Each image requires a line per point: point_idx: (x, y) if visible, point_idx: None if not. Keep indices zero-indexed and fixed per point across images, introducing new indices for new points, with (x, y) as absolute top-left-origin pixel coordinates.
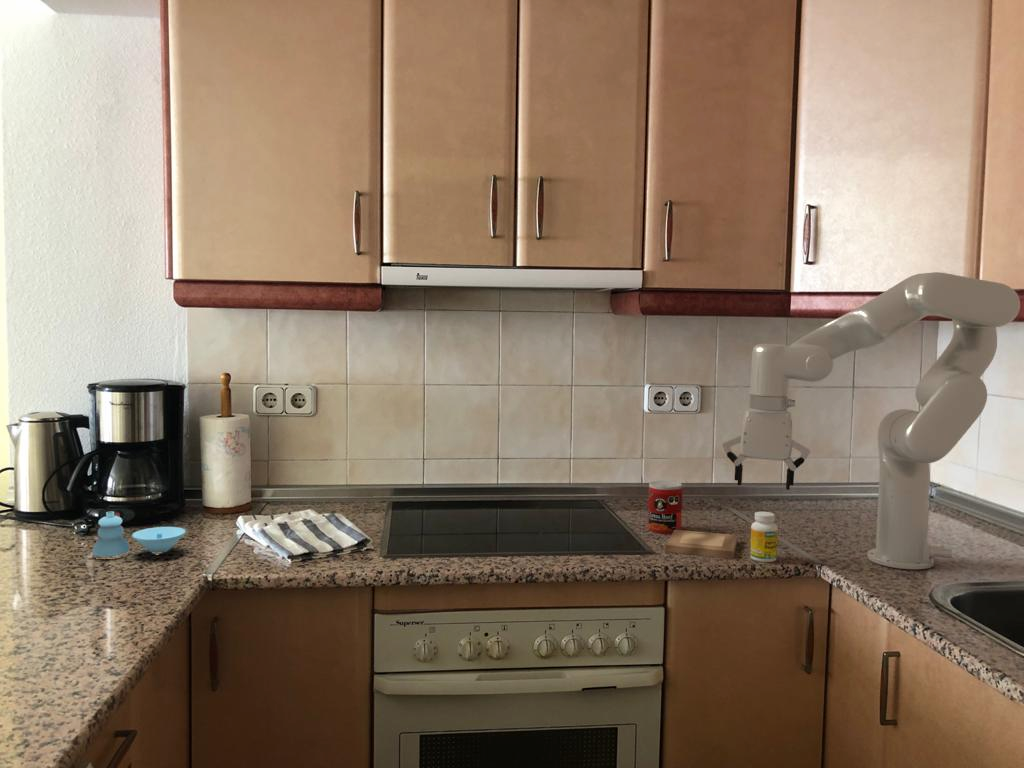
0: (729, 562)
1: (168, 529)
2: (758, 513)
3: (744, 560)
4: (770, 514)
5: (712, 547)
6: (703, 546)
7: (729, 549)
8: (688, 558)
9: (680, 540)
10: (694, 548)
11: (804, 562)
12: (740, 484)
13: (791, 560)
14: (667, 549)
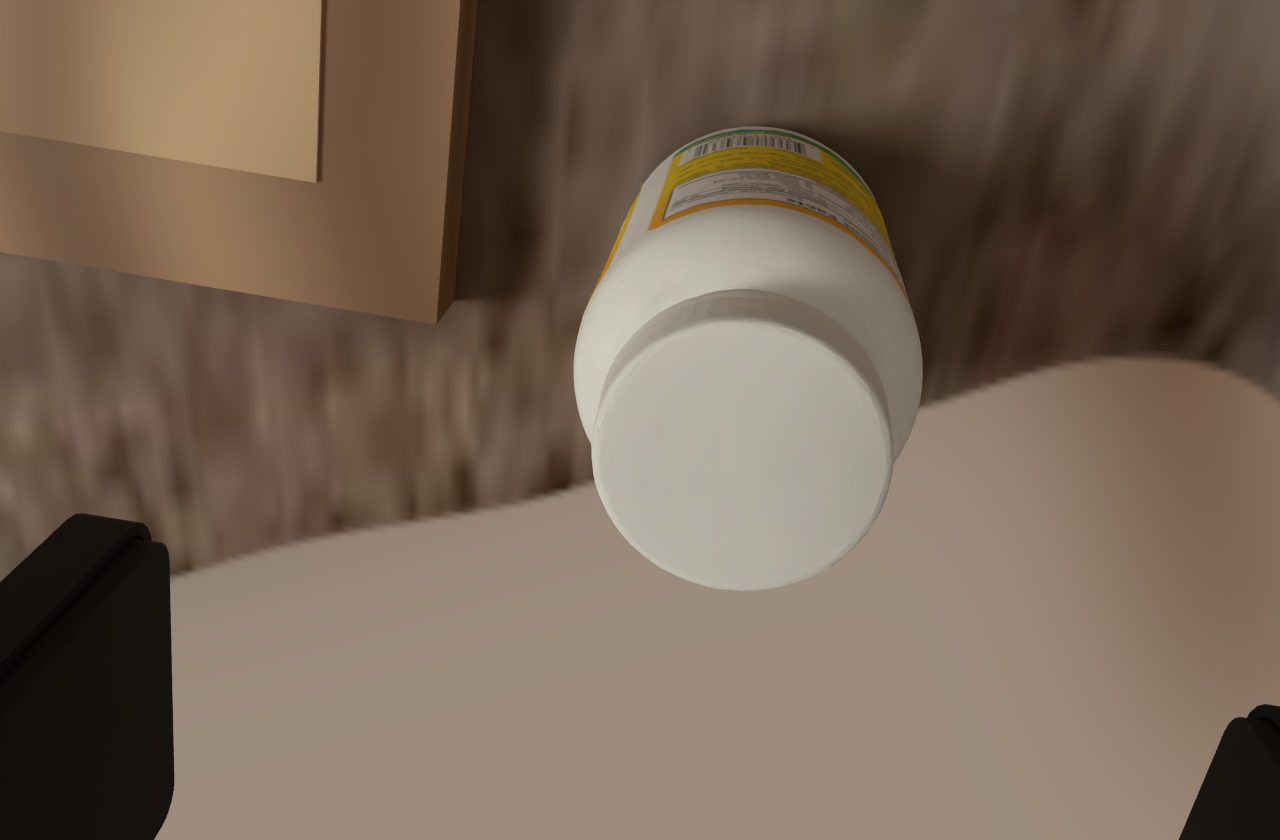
0: (422, 426)
1: None
2: (644, 455)
3: (560, 339)
4: (823, 489)
5: (222, 211)
6: (128, 189)
7: (397, 256)
8: (59, 366)
9: None
10: (53, 258)
11: (1157, 302)
12: (159, 799)
13: (1038, 254)
14: None
